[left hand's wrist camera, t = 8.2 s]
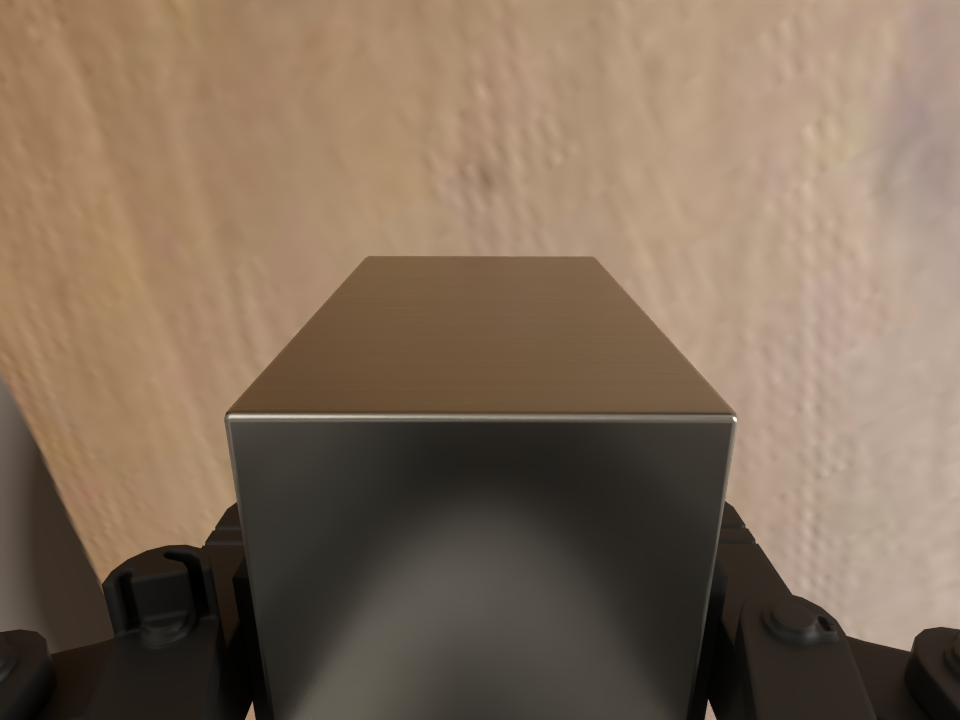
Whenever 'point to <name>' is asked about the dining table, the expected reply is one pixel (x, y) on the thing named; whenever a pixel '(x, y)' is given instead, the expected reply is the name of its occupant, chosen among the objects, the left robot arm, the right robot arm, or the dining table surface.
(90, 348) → the dining table surface
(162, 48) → the dining table surface
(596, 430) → the bar
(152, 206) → the dining table surface
